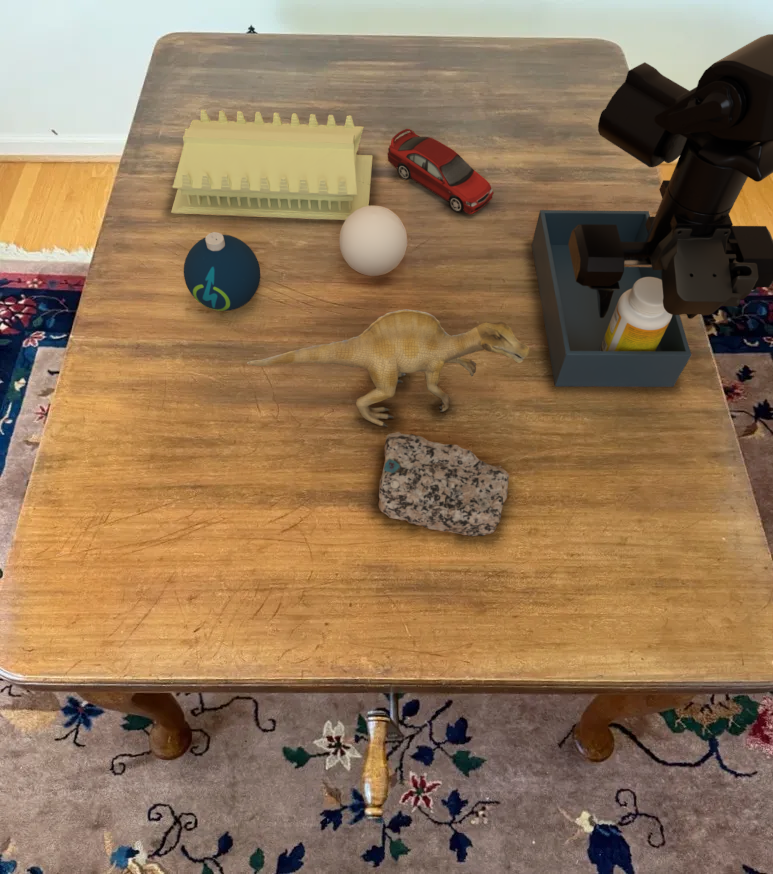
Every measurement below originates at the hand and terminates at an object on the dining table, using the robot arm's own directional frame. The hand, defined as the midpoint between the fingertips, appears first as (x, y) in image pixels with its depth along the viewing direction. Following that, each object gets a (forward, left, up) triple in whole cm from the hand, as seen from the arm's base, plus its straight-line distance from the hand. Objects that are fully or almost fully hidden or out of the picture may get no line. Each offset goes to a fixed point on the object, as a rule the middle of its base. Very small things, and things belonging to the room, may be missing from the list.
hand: (644, 315), depth 77 cm
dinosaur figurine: (+23, +14, -7) cm, 28 cm away
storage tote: (+4, -6, -7) cm, 10 cm away
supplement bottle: (0, 0, -7) cm, 7 cm away
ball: (+31, -4, -7) cm, 32 cm away
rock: (+14, +23, -7) cm, 28 cm away
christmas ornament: (+45, +7, -7) cm, 46 cm away
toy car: (+28, -21, -7) cm, 36 cm away
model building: (+49, -13, -7) cm, 51 cm away
